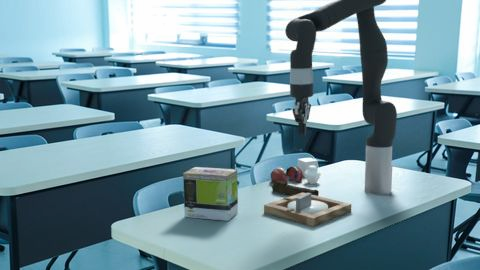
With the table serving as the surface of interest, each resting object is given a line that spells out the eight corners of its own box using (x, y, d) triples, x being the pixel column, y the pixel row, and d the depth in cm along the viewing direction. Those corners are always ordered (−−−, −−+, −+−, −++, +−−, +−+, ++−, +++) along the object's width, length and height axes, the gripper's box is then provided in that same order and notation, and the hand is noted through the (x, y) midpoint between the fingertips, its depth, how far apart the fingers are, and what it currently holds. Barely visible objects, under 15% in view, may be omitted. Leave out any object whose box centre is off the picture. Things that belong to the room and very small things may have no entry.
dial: (299, 202, 208) (299, 186, 207) (334, 208, 200) (335, 192, 199) (280, 211, 197) (280, 195, 196) (316, 218, 190) (316, 201, 189)
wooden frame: (302, 200, 213) (302, 191, 212) (351, 212, 199) (351, 203, 199) (263, 213, 199) (263, 203, 198) (313, 227, 185) (313, 217, 184)
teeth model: (305, 166, 237) (280, 170, 230) (305, 182, 237) (281, 187, 231) (291, 162, 243) (267, 167, 237) (292, 178, 244) (267, 183, 238)
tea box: (238, 212, 199) (238, 168, 197) (227, 222, 190) (227, 176, 187) (195, 208, 204) (195, 165, 202) (183, 217, 195) (182, 172, 192)
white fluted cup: (302, 183, 234) (302, 166, 233) (306, 180, 240) (307, 162, 239) (318, 185, 232) (318, 167, 231) (322, 181, 237) (322, 163, 236)
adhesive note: (304, 176, 246) (304, 161, 245) (297, 173, 251) (297, 159, 250) (317, 174, 248) (317, 160, 247) (310, 171, 254) (310, 157, 252)
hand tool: (319, 200, 214) (319, 187, 213) (312, 202, 211) (313, 189, 210) (277, 190, 227) (277, 178, 226) (270, 192, 224) (270, 180, 223)
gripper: (306, 84, 192) (307, 138, 195) (318, 79, 204) (319, 131, 207) (283, 84, 195) (285, 137, 198) (296, 79, 207) (297, 130, 210)
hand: (302, 134), depth 203 cm, fingers closed
